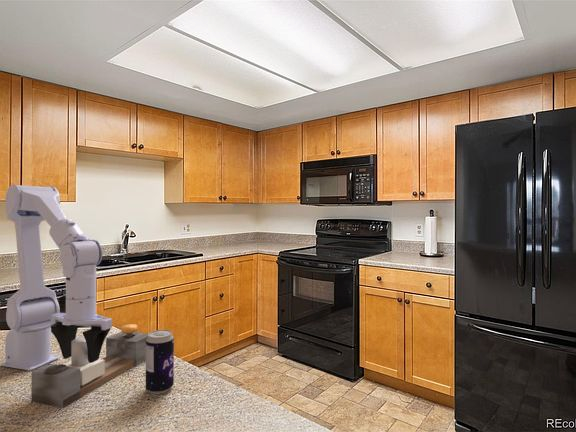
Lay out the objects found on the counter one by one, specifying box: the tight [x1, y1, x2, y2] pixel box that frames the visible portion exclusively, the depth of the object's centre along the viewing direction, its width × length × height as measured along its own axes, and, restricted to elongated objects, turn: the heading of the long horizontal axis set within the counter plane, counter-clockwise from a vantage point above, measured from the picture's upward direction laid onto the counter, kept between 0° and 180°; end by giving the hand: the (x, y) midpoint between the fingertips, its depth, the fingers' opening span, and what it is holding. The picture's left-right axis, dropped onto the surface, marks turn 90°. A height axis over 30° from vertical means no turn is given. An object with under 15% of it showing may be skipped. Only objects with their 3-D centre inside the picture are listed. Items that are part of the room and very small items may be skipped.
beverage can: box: [145, 329, 175, 395], centre depth 77 cm, size 6×6×12 cm
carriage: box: [62, 336, 105, 386], centre depth 78 cm, size 7×6×8 cm
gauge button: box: [121, 323, 138, 338], centre depth 93 cm, size 4×4×3 cm
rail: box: [30, 330, 149, 409], centre depth 83 cm, size 9×26×6 cm, turn 164°
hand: (80, 359), depth 78 cm, fingers open, 6 cm apart
